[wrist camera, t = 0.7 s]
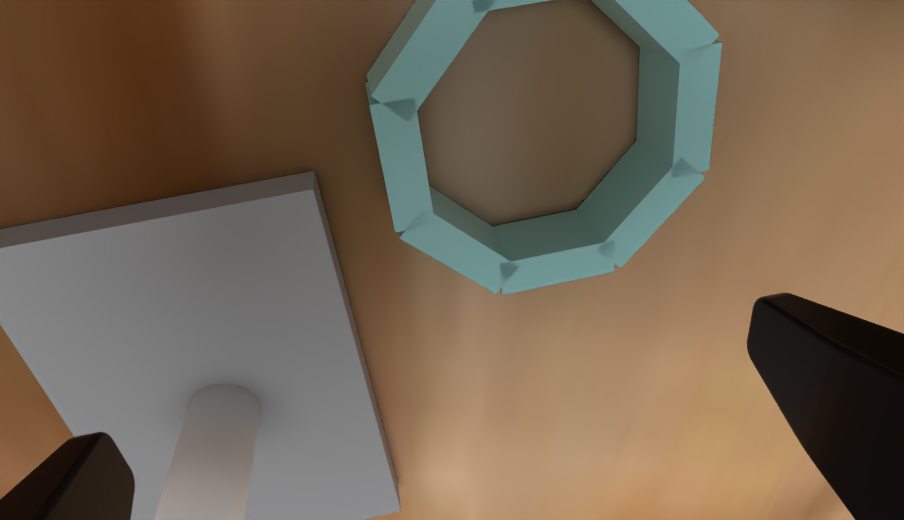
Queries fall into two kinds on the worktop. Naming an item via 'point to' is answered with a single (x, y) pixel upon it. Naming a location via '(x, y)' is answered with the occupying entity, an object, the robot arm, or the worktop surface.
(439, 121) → the worktop surface
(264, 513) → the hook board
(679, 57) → the teal ring
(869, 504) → the robot arm
